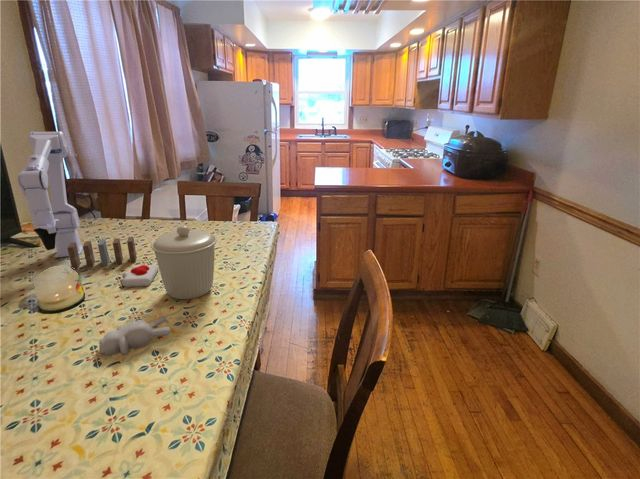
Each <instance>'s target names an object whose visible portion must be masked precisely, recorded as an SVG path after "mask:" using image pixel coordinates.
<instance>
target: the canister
mask: <svg viewBox="0 0 640 479" xmlns="http://www.w3.org/2000/svg"><path fill="white" fill-rule="evenodd" d="M217 240H218V238H217V237H216V235H215V234H212V233H210V232H208V231H206V230H201V229H190V227H189V226H187V225H184V224H183V225H179V226H178V227H177V228H176V230H173V231H169V232H166V233H164V234H162V235H160V236H158V237H156V238H155V239H154V240H153V241H151V244H150V248H151V249H152V251H154V254H155V259H156V262H157V266H158V268H159V270H158V271H159V273H160V276H161V279H162V283H163V286H164V290H165V291H166V293H167V294H168V295H169V296H170V297H172V298H174V299H177V300H182V301H183V300H186V301H187V300H193V299H197V298H200V297H202V296H204V295H205V294H207V293H208V292H210V291H211V289H212V288H213V284H214V274H215V273H214V271H215V245H216V244H217Z"/></svg>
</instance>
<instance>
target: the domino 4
mask: <svg viewBox="0 0 640 479" xmlns="http://www.w3.org/2000/svg"><path fill="white" fill-rule="evenodd" d="M126 243H127V249H128V250H127V251H128V255H129V260H130V264H132V263H133V264H134V263H137V253H136V252H137V251H136V246H135V239H134V236H128V237H127V241H126Z"/></svg>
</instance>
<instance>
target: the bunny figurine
mask: <svg viewBox="0 0 640 479" xmlns="http://www.w3.org/2000/svg"><path fill="white" fill-rule="evenodd" d="M167 320H168V319H167V317H166V316H165V315H163V316H159V317H158V318H156V319H155V320H153V321H152V322H150V323H147V322H146V321H145V320H143V319H138V320H137V319H136V320H135V321H132V322H128V323H127V324H126V325H125V326H123V325H119V326H117V329H116V330H110V331H108V332H107V333H105V334H104V336H103V337H102V338H101V339H99V340H98V342H99V343H98V344H99V346H98V349H99V352H100V354H101V355H104V354H106V355H107V356H115V355H117V354H120V353H121V354H122V355H127V353H128V352H129V351H130V349H131V350H137V349H141V348H144V347H146V346H148V345H149V344H150V341H151V339H152V338H153V337H166V336H169V335H171V332H172V331H171V329H170V327H169V326H163V327H158V328H157V326H160V325H162V324H164V323H166V322H167Z"/></svg>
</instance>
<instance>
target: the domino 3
mask: <svg viewBox="0 0 640 479" xmlns="http://www.w3.org/2000/svg"><path fill="white" fill-rule="evenodd" d="M121 244H122V243H121V239H120V237H118V238H117V237H116V238H113V241H112V247H113V253H114V257H115V264H116V265H122V263H123V260H124V256H123V250H122V245H121Z"/></svg>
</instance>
